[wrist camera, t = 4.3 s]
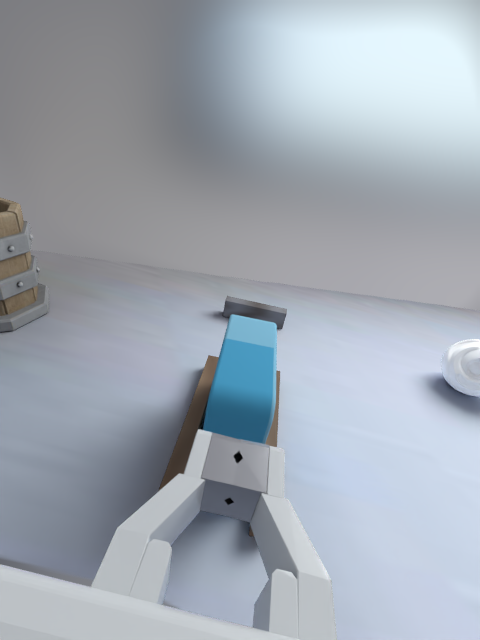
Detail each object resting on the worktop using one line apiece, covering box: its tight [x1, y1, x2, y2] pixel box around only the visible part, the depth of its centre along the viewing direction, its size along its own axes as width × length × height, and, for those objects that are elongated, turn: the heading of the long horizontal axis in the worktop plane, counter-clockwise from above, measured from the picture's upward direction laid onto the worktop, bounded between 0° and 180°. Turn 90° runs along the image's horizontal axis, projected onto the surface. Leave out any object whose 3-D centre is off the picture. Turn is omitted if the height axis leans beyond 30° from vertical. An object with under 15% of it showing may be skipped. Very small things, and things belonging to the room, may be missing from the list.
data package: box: [203, 314, 277, 444], centre depth 28 cm, size 12×4×12 cm, turn 174°
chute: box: [159, 296, 287, 537], centre depth 37 cm, size 10×33×3 cm, turn 172°
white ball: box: [441, 339, 480, 397], centre depth 43 cm, size 8×8×8 cm
